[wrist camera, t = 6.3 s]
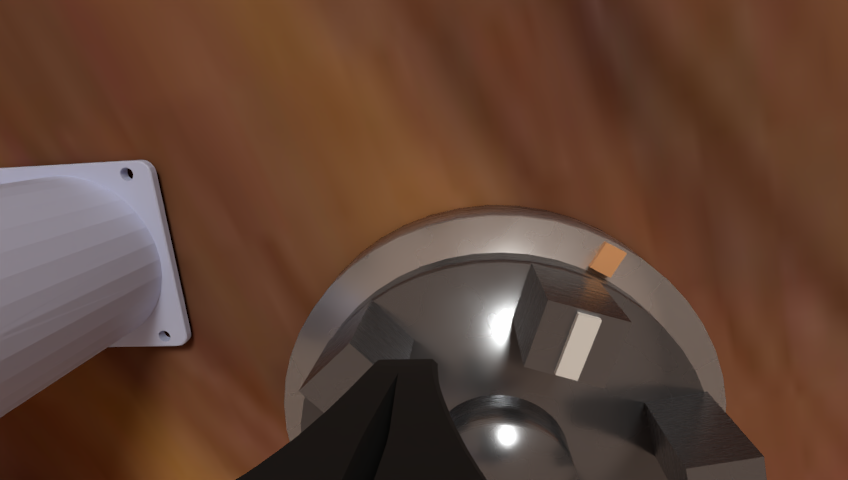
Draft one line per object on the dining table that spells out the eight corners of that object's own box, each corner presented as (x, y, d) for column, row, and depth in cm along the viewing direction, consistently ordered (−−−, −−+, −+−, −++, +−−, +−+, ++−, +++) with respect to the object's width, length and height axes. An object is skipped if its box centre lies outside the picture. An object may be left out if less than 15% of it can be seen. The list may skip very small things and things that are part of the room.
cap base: (325, 546, 23) (311, 589, 21) (275, 214, 18) (250, 227, 16) (681, 556, 21) (705, 605, 19) (720, 194, 17) (757, 206, 15)
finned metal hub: (611, 616, 20) (650, 753, 15) (283, 524, 20) (235, 634, 16) (766, 316, 16) (877, 391, 11) (352, 204, 16) (310, 238, 12)
